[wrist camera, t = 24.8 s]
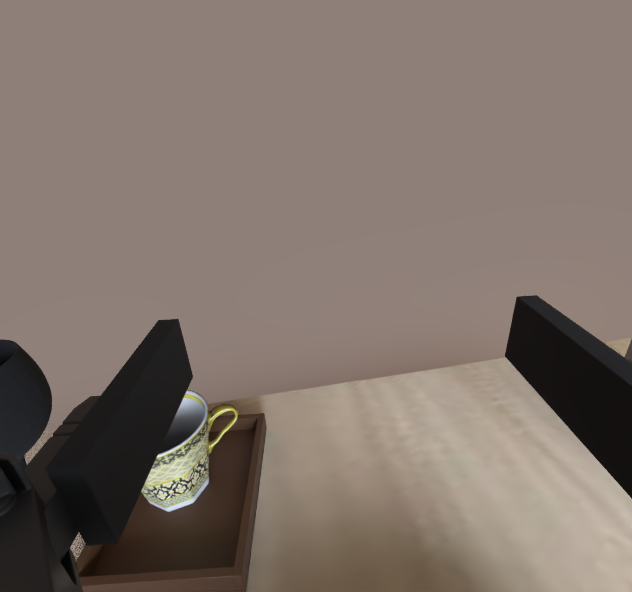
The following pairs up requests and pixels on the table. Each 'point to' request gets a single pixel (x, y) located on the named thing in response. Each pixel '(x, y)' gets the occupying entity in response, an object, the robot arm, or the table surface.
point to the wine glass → (21, 401)
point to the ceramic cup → (185, 454)
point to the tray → (190, 527)
